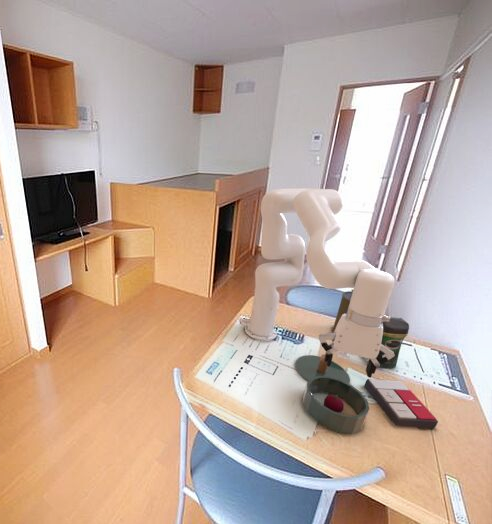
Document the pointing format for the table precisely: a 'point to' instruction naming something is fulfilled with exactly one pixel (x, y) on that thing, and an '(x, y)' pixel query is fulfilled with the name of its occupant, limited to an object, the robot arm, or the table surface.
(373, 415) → the table surface
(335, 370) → the lid
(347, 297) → the canister
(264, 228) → the robot arm
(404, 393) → the calculator
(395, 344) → the coffee jar
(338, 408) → the beet
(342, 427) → the pot
